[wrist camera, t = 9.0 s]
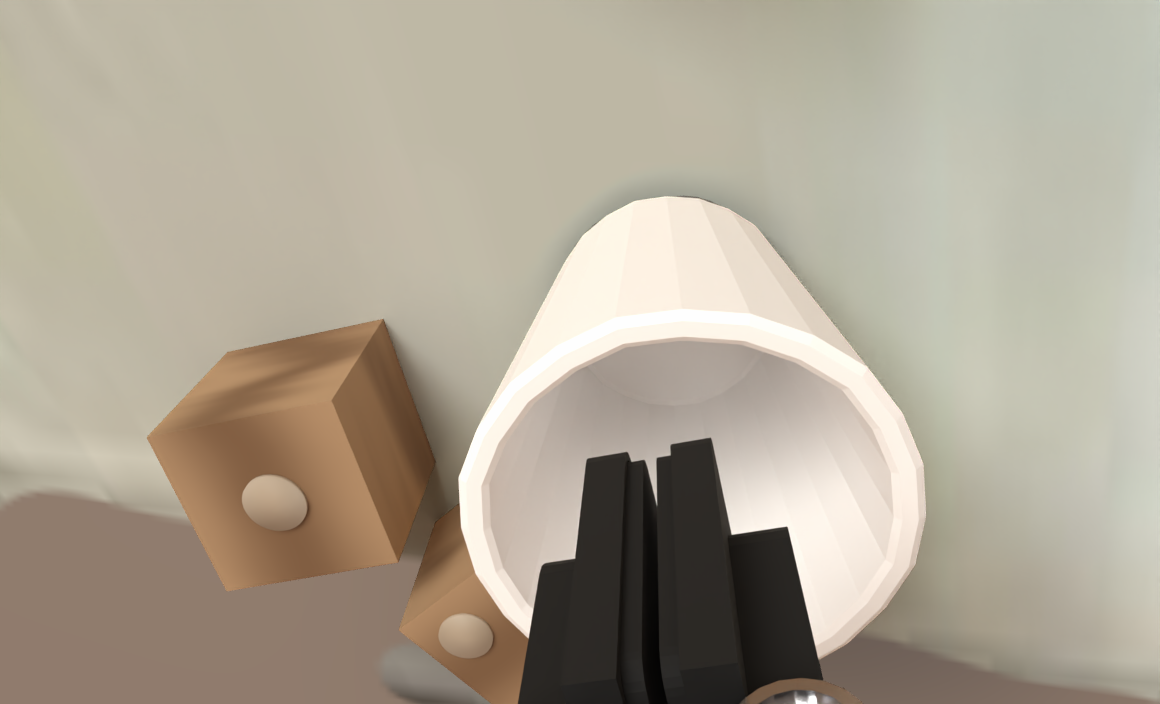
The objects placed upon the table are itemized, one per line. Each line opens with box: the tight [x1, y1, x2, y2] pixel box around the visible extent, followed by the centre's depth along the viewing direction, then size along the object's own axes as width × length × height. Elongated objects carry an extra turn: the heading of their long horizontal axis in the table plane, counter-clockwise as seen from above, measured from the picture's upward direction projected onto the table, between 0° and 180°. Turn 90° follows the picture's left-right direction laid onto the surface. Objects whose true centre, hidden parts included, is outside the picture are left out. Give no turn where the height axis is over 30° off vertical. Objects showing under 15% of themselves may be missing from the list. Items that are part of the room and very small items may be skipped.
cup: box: [458, 196, 926, 660], centre depth 25 cm, size 10×10×13 cm
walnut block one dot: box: [147, 319, 436, 591], centre depth 30 cm, size 6×6×6 cm
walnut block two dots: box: [399, 503, 528, 704], centre depth 32 cm, size 6×6×6 cm
